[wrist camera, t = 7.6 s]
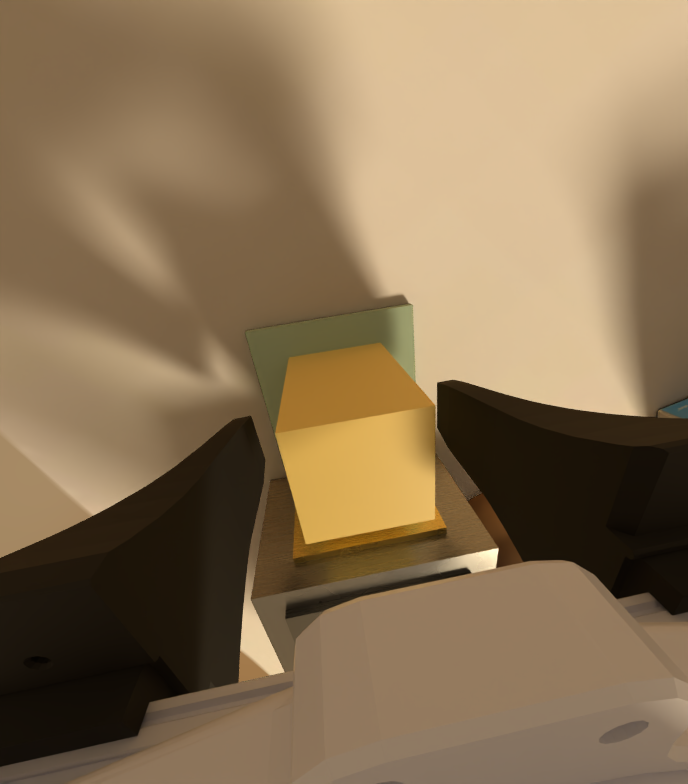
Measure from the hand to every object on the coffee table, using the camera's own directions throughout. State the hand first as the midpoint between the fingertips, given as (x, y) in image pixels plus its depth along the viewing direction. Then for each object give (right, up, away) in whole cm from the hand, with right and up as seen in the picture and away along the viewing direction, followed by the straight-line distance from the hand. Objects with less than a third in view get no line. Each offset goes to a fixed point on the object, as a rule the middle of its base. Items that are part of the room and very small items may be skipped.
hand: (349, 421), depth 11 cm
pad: (0, +1, +3) cm, 3 cm away
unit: (+1, -6, +6) cm, 9 cm away
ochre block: (0, +1, +2) cm, 3 cm away
